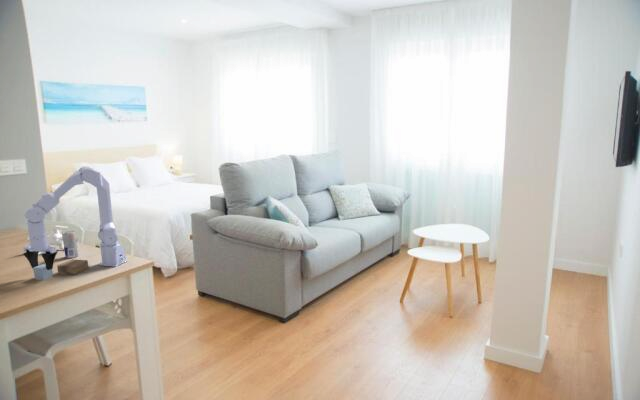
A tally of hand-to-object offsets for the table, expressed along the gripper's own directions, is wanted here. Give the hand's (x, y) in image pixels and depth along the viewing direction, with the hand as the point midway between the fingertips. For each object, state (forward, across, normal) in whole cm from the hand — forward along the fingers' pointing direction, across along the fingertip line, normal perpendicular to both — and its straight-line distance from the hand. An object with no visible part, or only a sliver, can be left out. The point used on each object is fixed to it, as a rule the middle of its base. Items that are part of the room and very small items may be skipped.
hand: (42, 268), depth 175 cm
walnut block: (+4, +6, +9) cm, 12 cm away
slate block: (+4, 0, 0) cm, 4 cm away
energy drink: (+4, -11, +25) cm, 28 cm away
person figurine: (+4, -30, +31) cm, 43 cm away
